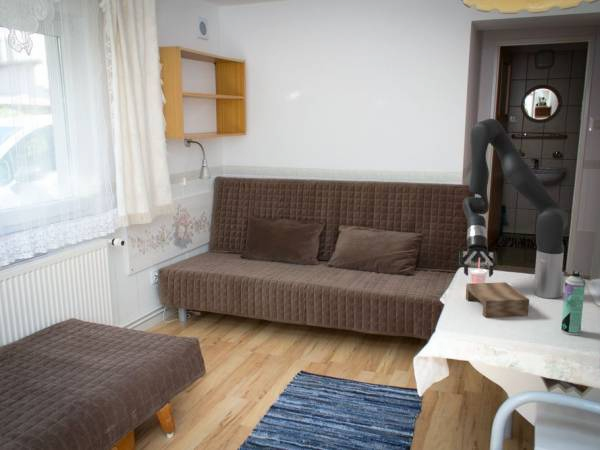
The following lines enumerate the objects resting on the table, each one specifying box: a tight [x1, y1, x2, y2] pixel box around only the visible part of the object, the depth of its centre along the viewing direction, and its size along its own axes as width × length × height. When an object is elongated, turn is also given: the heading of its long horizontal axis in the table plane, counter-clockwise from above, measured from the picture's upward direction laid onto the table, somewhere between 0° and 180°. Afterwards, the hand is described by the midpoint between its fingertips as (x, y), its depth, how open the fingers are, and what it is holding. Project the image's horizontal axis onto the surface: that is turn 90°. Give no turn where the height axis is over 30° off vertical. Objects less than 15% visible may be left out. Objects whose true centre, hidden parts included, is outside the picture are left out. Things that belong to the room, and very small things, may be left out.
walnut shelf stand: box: [465, 282, 530, 319], centre depth 198 cm, size 15×19×6 cm
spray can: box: [560, 270, 586, 336], centre depth 174 cm, size 6×6×20 cm
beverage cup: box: [469, 258, 488, 284], centre depth 213 cm, size 6×6×14 cm
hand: (478, 275), depth 211 cm, fingers open, 8 cm apart
